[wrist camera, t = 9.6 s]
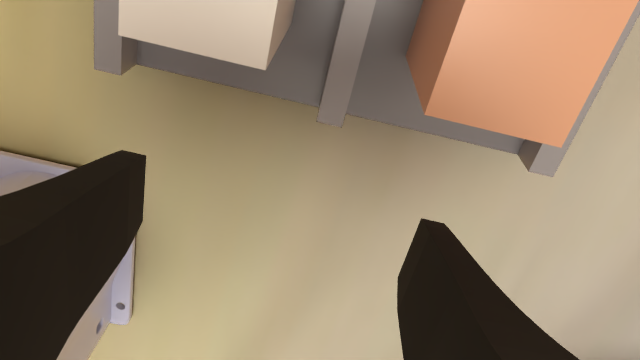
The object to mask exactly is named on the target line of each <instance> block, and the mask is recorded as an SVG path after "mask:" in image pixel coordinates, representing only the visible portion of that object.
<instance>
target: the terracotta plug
mask: <svg viewBox="0 0 640 360" xmlns="http://www.w3.org/2000/svg"><path fill="white" fill-rule="evenodd" d="M638 1H639V0H423V3H422V7H421V10H420V13H419V16H418V19H417V22H416V25H415V29H414V32H413V35H412V38H411V41H410V44H409V47H408V51H407V54H406V59H407V62H408V65H409V69H410V72H411V75H412V78H413V81H414V84H415V87H416V90H417V94H418V97H419V100H420V103H421V106H422V109H423V112H424V115H427V116H432V117H436V118H440V119H444V120H448V121H452V122H456V123H461V124H465V125H469V126H473V127H477V128H481V129H485V130H489V131H494V132H498V133H502V134H506V135H510V136H514V137H518V138H523V139H527V140H531V141H535V142H539V143H543V144H547V145H551V146H556V147H560V148H561V147H562V145H563V143H564V142H565V140H566V138H567V136H568V134H569V132H570V130H571V128H572V126H573V125H574V123H575V121H576V119H577V117H578V115H579V113H580V111H581V109H582V107H583V106H584V104H585V102H586V100H587V98H588V96H589V94H590V92H591V90H592V88H593V87H594V85H595V83H596V81H597V79H598V77H599V75H600V73H601V71H602V69H603V68H604V66H605V64H606V62H607V60H608V58H609V56H610V54H611V52H612V51H613V49H614V47H615V45H616V43H617V41H618V39H619V37H620V35H621V33H622V32H623V30H624V28H625V26H626V24H627V22H628V20H629V18H630V16H631V14H632V13H633V11H634V9H635V7H636V5H637V3H638Z"/></svg>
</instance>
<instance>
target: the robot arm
mask: <svg viewBox="0 0 640 360" xmlns="http://www.w3.org/2000/svg"><path fill="white" fill-rule="evenodd" d="M145 166H146V156H145V155H141V154H137V153H132V152H128V151H123V150H121V151H118V152H115V153H113V154H110V155H107V156H105V157H103V158H100V159H98V160H95V161H93V162H91V163H88V164H86V165H83V166H81V167H79V168H76V167H71V166H67V165H63V164H58V163H54V162H49V161H45V160H40V159H36V158H31V157H27V156H23V155H18V154H14V153H9V152H5V151H0V360H88V358H89V357H90V355H91V353H92V352H93V350H94V348H95V347H96V345H97V343H98V341H99V340H100V338H101V336H102V335H103V333H104V331H105V330H106V328H107V326H108V325H109V323H114V324H118V325H126V324H128V323H129V321H130V319H131V317H132V297H133V276H134V254H135V236H136V234H137V232H138V230H139V227H140V225H141V223H142V221H143V203H144V185H145ZM121 303H123V304H124V305H123V304H121ZM397 311H398V320H399V328H400V336H401V343H402V350H403V358H404V360H579V359H578V358H577V357H575V356H574V355H573V354H571V353H570V352H569V351H568V350H566V349H565V348H564V347H562V346H561V345H560V344H559V343H557V342H556V341H555V340H554V339H552V338H551V337H550V336H549V335H548V334H546V333H545V332H544V331H543V330H542V329H541V328H540V327H539V326H538V325H536V324H535V323H534V322H533V321H532V320H531V319H530V318H529V317H528V316H526V315H525V314H524V313H523V312H522V311H521V310H520V309H519V308H518V307H517V306H516V305H515V304H514V303H513V302H512V301H511V300H510V299H509V298H508V297H507V296H506V295H505V294H504V293H503V291H502V290H501V289H500V288H499V287H498V286H497V285H496V284H495V283H494V282H493V281H492V279H491V278H490V277H489V276H488V275H487V274H486V273H485V272H484V270H483V269H482V268H481V267H480V266H479V264H478V263H477V262H476V261H475V260H474V258H473V257H472V256H471V255H470V254H469V252H468V251H467V250H466V249H465V247H464V246H463V245H462V244H461V243H460V241H459V240H458V239H457V238H456V236H455V235H454V234H453V233H452V232H451V231H450V229H449V228H448V227H447V226H446V225H445V224H444V223H440V222H435V221H431V220H426V219H422V218H421V220H420V223H419V225H418V228H417V231H416V233H415V236H414V238H413V241H412V243H411V246H410V248H409V251H408V253H407V256H406V258H405V261H404V263H403V266H402V268H401V271H400V273H399V276H398V291H397Z"/></svg>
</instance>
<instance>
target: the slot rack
mask: <svg viewBox="0 0 640 360" xmlns="http://www.w3.org/2000/svg"><path fill="white" fill-rule="evenodd" d="M422 3H423V0H296V2H295V7H294V12H293V17H292V22H291V25H290V27H289V29H288V30H287V32H286V34H285V36H284V38H283V40H282V41H281V43H280V45H279V47H278V49H277V50H276V52H275V54H274V56H273V58H272V60H271V61H270V63H269V65H268V67H267V69H266V70H262V69H257V68H253V67H249V66H245V65H241V64H236V63H232V62H228V61H224V60H220V59H216V58H211V57H207V56H203V55H199V54H195V53H191V52H186V51H182V50H178V49H174V48H170V47H166V46H161V45H157V44H153V43H149V42H145V41H141V40H136V39H132V38H128V37H124V36H120V35H118V21H119V0H94V69H95V70H100V71H104V72H108V73H112V74H117V75H122V74H124V73H125V72H126V71H128V70H129V69H130V68H132V67H133V66H135V65H136V64H138V65H142V66H147V67H151V68H155V69H159V70H163V71H168V72H172V73H176V74H180V75H184V76H189V77H193V78H197V79H201V80H206V81H210V82H214V83H218V84H222V85H227V86H231V87H235V88H239V89H243V90H248V91H252V92H256V93H260V94H265V95H269V96H273V97H277V98H281V99H286V100H290V101H294V102H298V103H302V104H307V105H311V106H315V107H319V111H318V116H317V121H316V122H320V123H325V124H329V125H333V126H337V127H342V126H343V122H344V118H345V114H349V115H353V116H357V117H362V118H366V119H370V120H374V121H378V122H383V123H387V124H391V125H395V126H399V127H404V128H408V129H412V130H416V131H421V132H425V133H429V134H433V135H437V136H442V137H446V138H450V139H454V140H458V141H463V142H467V143H471V144H475V145H480V146H484V147H488V148H492V149H496V150H501V151H505V152H509V153H513V154H517V155H518V156H519V157H520V159H521V161H522V162H523V164H524V165H525V167H526V168H527V170H528V171H529V172H533V173H537V174H541V175H545V176H550V177H553V176H554V174H555V172H556V171H557V169H558V167H559V165H560V163H561V161H562V159H563V157H564V155H565V154H566V152H567V150H568V148H569V146H570V144H571V142H572V140H573V139H574V137H575V135H576V133H577V131H578V129H579V127H580V125H581V124H582V122H583V120H584V118H585V116H586V114H587V112H588V110H589V108H590V107H591V105H592V103H593V101H594V99H595V97H596V95H597V93H598V92H599V90H600V88H601V86H602V84H603V82H604V80H605V78H606V77H607V75H608V73H609V71H610V69H611V67H612V65H613V63H614V62H615V60H616V58H617V56H618V54H619V52H620V50H621V48H622V46H623V45H624V43H625V41H626V39H627V37H628V35H629V33H630V31H631V30H632V28H633V26H634V24H635V22H636V20H637V18H638V16H639V15H640V0H639V1H638V3H637V5H636V7H635V9H634V11H633V13H632V14H631V16H630V18H629V20H628V22H627V24H626V26H625V28H624V30H623V32H622V33H621V35H620V37H619V39H618V41H617V43H616V45H615V47H614V49H613V51H612V52H611V54H610V56H609V58H608V60H607V62H606V64H605V66H604V68H603V69H602V71H601V73H600V75H599V77H598V79H597V81H596V83H595V85H594V87H593V88H592V90H591V92H590V94H589V96H588V98H587V100H586V102H585V104H584V106H583V107H582V109H581V111H580V113H579V115H578V117H577V119H576V121H575V123H574V125H573V126H572V128H571V130H570V132H569V134H568V136H567V138H566V140H565V142H564V143H563V145H562V147H561V148H560V147H556V146H551V145H547V144H543V143H539V142H535V141H531V140H527V139H523V138H518V137H514V136H510V135H506V134H502V133H498V132H494V131H489V130H485V129H481V128H477V127H473V126H469V125H465V124H461V123H456V122H452V121H448V120H444V119H440V118H436V117H432V116H427V115H424V112H423V109H422V106H421V103H420V100H419V97H418V94H417V90H416V87H415V84H414V81H413V78H412V75H411V72H410V69H409V65H408V62H407V59H406V54H407V51H408V47H409V44H410V41H411V38H412V35H413V32H414V29H415V25H416V22H417V19H418V16H419V13H420V10H421V7H422Z"/></svg>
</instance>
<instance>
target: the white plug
mask: <svg viewBox="0 0 640 360" xmlns="http://www.w3.org/2000/svg"><path fill="white" fill-rule="evenodd" d="M295 2H296V0H119V21H118V35H120V36H124V37H128V38H132V39H136V40H141V41H145V42H149V43H153V44H157V45H161V46H166V47H170V48H174V49H178V50H182V51H186V52H191V53H195V54H199V55H203V56H207V57H211V58H216V59H220V60H224V61H228V62H232V63H236V64H241V65H245V66H249V67H253V68H257V69H262V70H266V69H267V67H268V65H269V63H270V61H271V60H272V58H273V56H274V54H275V52H276V50H277V49H278V47H279V45H280V43H281V41H282V40H283V38H284V36H285V34H286V32H287V30H288V29H289V27H290V25H291V22H292V17H293V12H294V7H295Z"/></svg>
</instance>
